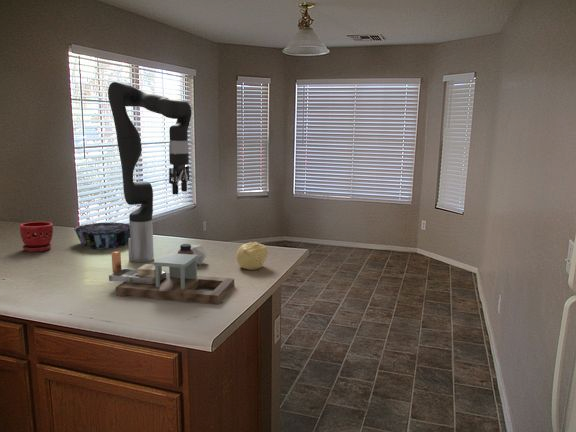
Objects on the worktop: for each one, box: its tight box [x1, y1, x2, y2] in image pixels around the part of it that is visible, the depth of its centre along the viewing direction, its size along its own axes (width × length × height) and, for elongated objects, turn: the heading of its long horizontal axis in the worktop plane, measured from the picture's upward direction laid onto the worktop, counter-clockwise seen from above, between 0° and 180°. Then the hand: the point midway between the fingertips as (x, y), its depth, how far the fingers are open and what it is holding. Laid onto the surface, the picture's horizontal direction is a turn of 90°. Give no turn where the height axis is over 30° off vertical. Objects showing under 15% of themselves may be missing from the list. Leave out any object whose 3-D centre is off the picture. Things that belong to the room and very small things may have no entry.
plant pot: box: [19, 221, 54, 253], centre depth 215 cm, size 13×13×12 cm
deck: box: [115, 272, 235, 305], centre depth 166 cm, size 36×18×3 cm, turn 80°
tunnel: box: [153, 252, 198, 289], centre depth 165 cm, size 11×12×9 cm
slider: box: [108, 250, 167, 285], centre depth 167 cm, size 18×9×9 cm, turn 80°
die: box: [190, 244, 207, 266], centre depth 198 cm, size 8×9×10 cm
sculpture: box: [236, 241, 269, 271], centre depth 194 cm, size 11×12×11 cm
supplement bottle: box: [177, 243, 193, 255], centre depth 185 cm, size 6×6×11 cm
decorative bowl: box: [73, 221, 130, 250], centre depth 227 cm, size 26×28×10 cm
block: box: [137, 263, 163, 278], centre depth 167 cm, size 6×6×5 cm
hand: (179, 192), depth 191 cm, fingers open, 8 cm apart
